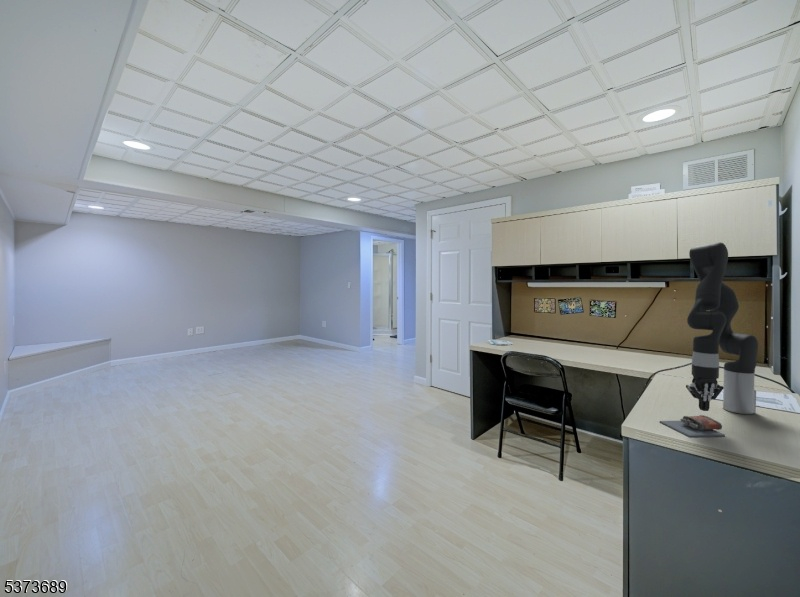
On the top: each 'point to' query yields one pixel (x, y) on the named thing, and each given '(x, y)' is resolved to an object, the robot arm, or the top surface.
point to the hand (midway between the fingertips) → (703, 410)
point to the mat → (691, 430)
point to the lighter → (701, 422)
